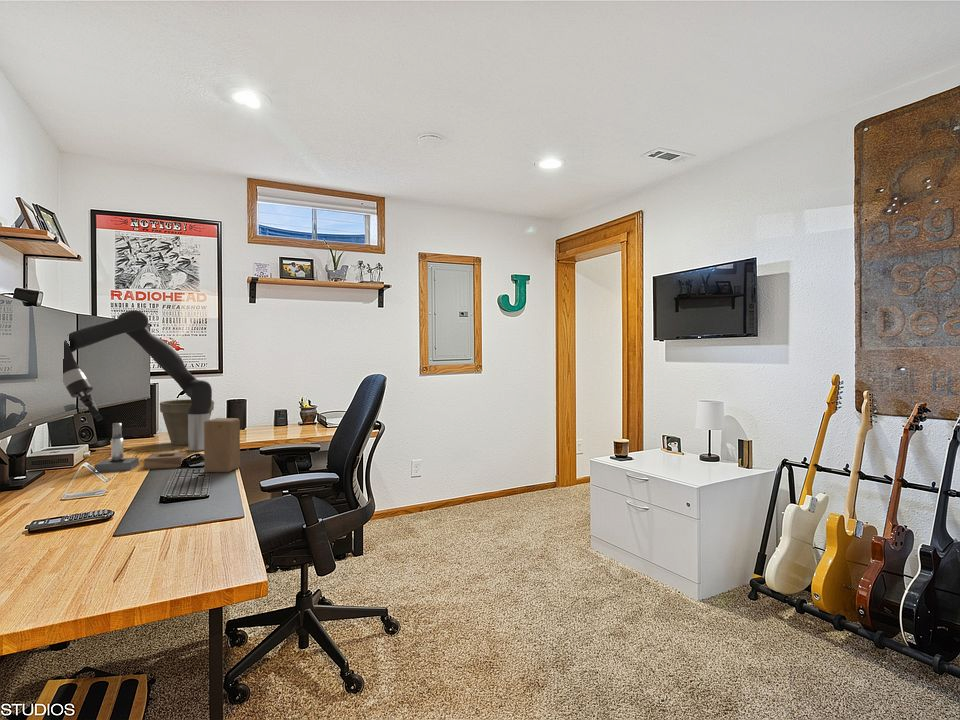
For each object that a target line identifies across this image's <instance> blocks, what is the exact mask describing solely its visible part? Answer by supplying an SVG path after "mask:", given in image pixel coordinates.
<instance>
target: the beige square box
mask: <svg viewBox="0 0 960 720" xmlns="http://www.w3.org/2000/svg"><path fill="white" fill-rule="evenodd" d="M187 452H188V451H177V452H176V451H175V452H160V453H159V452H157V453H155V452H154V453H151V454H149V455H148V456H146V457H145V458H144V459H143V469H144V470H154V469H170V468H171V469H172V468H180V467H179V466H181V464H182V461H183V460H184V459H186V458H187V459H188V455H187V454H188V453H187Z"/></svg>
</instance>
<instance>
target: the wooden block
mask: <svg viewBox="0 0 960 720" xmlns="http://www.w3.org/2000/svg"><path fill="white" fill-rule="evenodd" d="M240 423H241V421H240V418H237V417H236V418H235V417H229V418H228V417H224V418H223V417H219V418H218V417H216V418H212V419H210V420H207V421H205V422H204V450H203V451H204V452H203V455H204V457H203V459H204V460H203V462H204V463H203V465H204V466H203V468H204V469H203V470H204V473H230V472H232V471H234V470H237V469H239V468H240V467H241V447H240V446H241V437H240V436H241V424H240Z"/></svg>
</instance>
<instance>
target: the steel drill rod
mask: <svg viewBox="0 0 960 720" xmlns="http://www.w3.org/2000/svg"><path fill="white" fill-rule="evenodd" d="M122 424H123V423H122V422H114V423H112V438H111V439H110V450H111V451H110V453H111V456H110V459H111V462H123V458H124V437H123V436H122V435H123V434H122V431H123V429H122V427H123V425H122Z"/></svg>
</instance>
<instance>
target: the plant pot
mask: <svg viewBox="0 0 960 720" xmlns="http://www.w3.org/2000/svg"><path fill="white" fill-rule="evenodd" d="M191 404H192V398H190V399H172V400H171V399H170V400H165V401H160V402H159V411H160V413H162V417H163V420H164V424H165V427H166V430H167V434H168V437H169V440H170V443H171V444H172V445H174V446H188V409H189V407H190V406H191ZM214 408H215V401H214V399H213V400H212V402H211V408H210V417H211V415H212V411H214Z"/></svg>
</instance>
